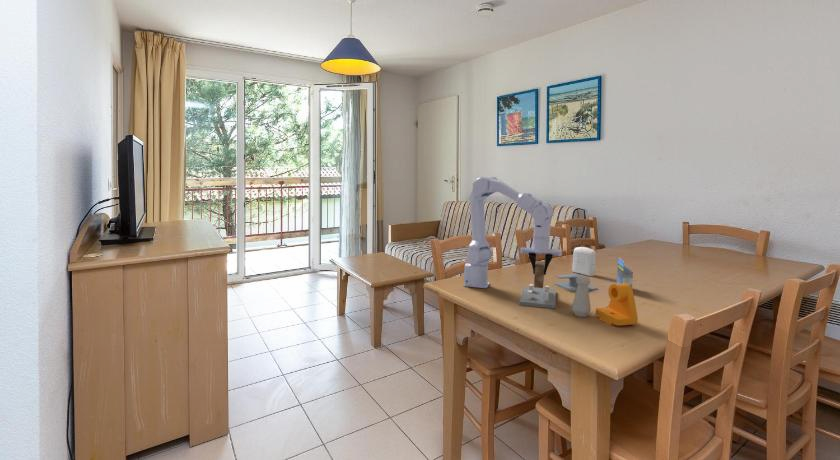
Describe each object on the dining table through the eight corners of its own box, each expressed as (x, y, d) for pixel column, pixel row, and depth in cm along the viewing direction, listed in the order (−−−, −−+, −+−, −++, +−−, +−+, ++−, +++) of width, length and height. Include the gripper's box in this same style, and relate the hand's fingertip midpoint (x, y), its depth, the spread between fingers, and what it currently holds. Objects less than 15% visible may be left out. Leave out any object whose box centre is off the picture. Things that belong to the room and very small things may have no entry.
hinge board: (519, 304, 147) (519, 294, 147) (523, 289, 166) (524, 280, 166) (555, 308, 144) (555, 298, 143) (555, 292, 163) (555, 283, 162)
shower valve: (548, 272, 174) (577, 270, 179) (547, 285, 174) (576, 282, 179) (568, 280, 162) (599, 277, 167) (567, 293, 163) (598, 290, 168)
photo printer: (596, 275, 190) (597, 248, 188) (590, 276, 188) (592, 249, 186) (576, 270, 198) (577, 245, 197) (570, 272, 196) (572, 246, 194)
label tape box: (632, 293, 163) (634, 262, 162) (621, 292, 164) (623, 261, 162) (626, 286, 172) (628, 257, 170) (615, 286, 173) (617, 257, 171)
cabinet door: (531, 287, 149) (532, 267, 148) (533, 278, 160) (534, 261, 159) (542, 288, 148) (543, 268, 147) (543, 279, 159) (544, 261, 158)
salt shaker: (568, 312, 140) (570, 274, 138) (584, 312, 141) (587, 274, 139) (576, 318, 134) (578, 279, 133) (593, 318, 135) (596, 278, 133)
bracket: (593, 316, 137) (596, 280, 135) (612, 314, 139) (615, 279, 137) (616, 328, 127) (620, 289, 125) (637, 326, 128) (640, 288, 127)
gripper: (520, 237, 150) (518, 274, 152) (562, 240, 146) (560, 278, 148) (521, 234, 157) (520, 270, 159) (562, 237, 152) (560, 273, 154)
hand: (539, 273), depth 154 cm, fingers closed on cabinet door, 3 cm apart
